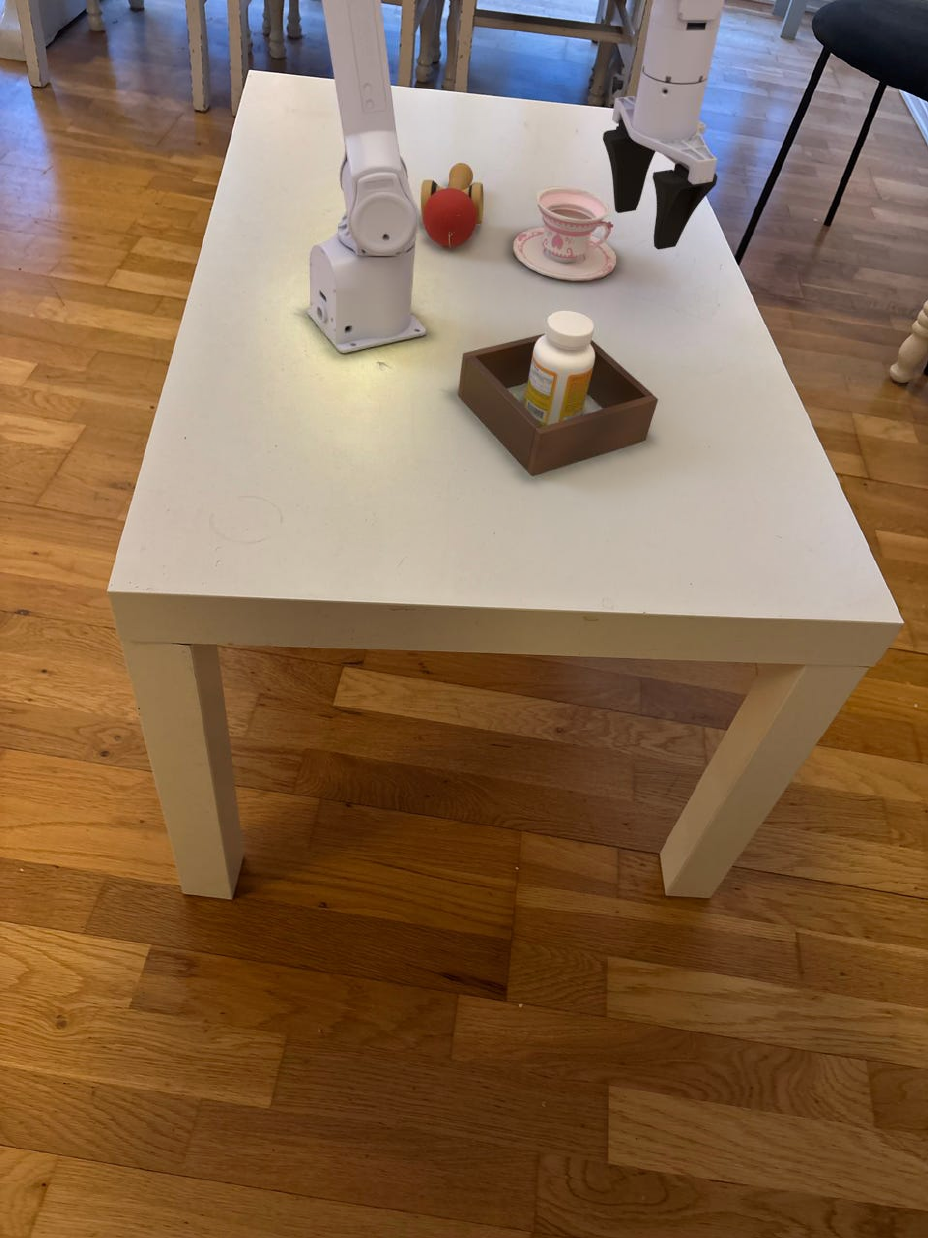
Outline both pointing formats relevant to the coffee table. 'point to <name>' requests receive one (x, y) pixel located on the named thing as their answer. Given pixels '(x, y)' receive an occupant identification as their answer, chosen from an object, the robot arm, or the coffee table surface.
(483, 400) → the square frame
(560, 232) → the teacup
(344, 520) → the coffee table surface
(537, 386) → the supplement bottle
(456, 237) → the kendama
